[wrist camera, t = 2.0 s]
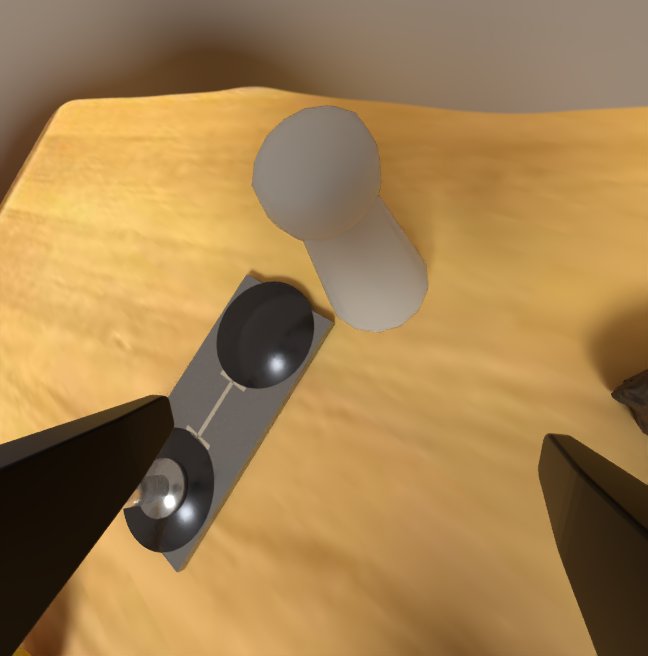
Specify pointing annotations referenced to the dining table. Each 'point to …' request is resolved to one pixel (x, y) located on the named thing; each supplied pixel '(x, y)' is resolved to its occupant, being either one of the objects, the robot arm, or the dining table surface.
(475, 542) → the dining table surface
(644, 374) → the hand tool
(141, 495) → the fixed steel pin
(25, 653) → the lemon
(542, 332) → the dining table surface
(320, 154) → the salt shaker
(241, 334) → the plate
